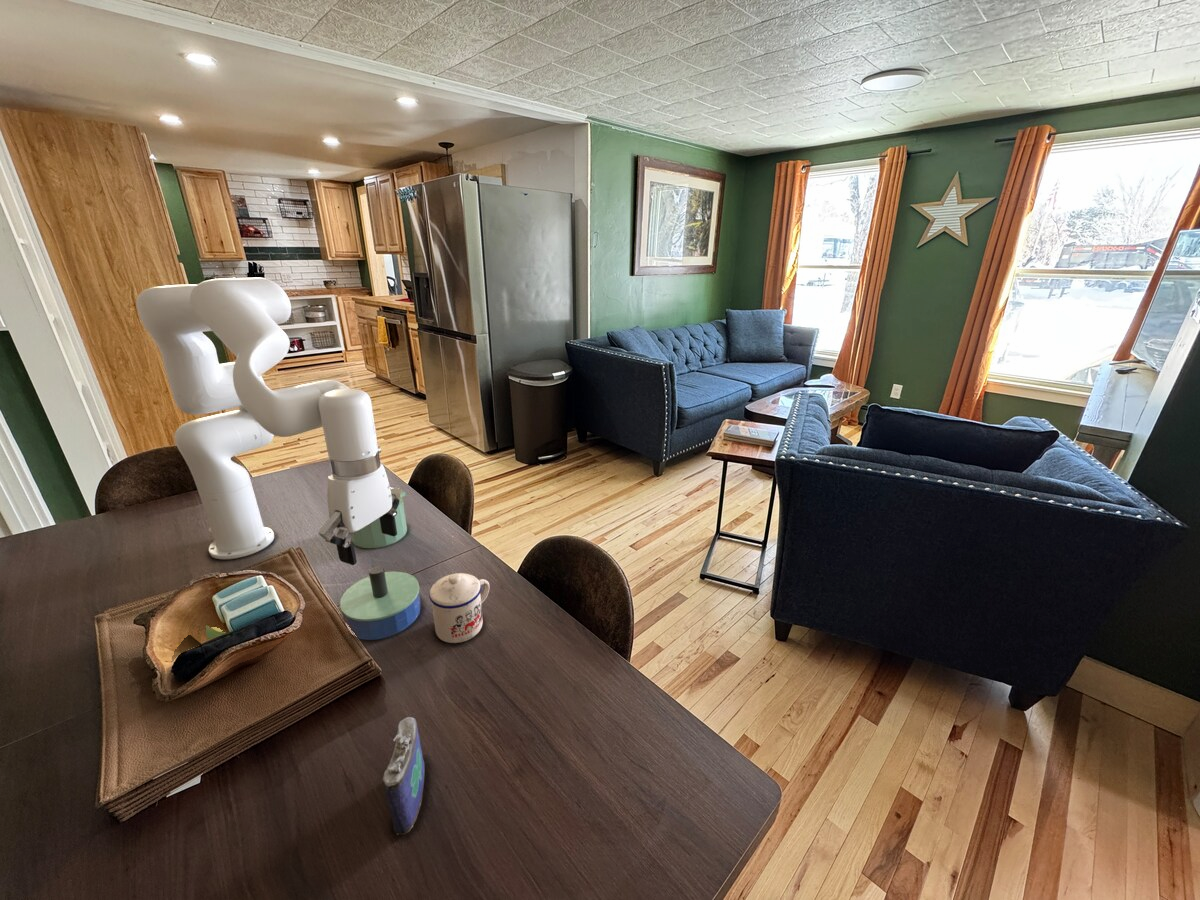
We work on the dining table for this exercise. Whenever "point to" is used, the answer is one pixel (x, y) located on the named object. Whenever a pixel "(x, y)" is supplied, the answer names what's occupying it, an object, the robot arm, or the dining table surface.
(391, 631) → the bowl
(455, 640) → the teacup with lid
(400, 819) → the flask
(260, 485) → the dining table surface
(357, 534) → the pot
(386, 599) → the lid
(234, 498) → the robot arm
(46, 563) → the dining table surface
